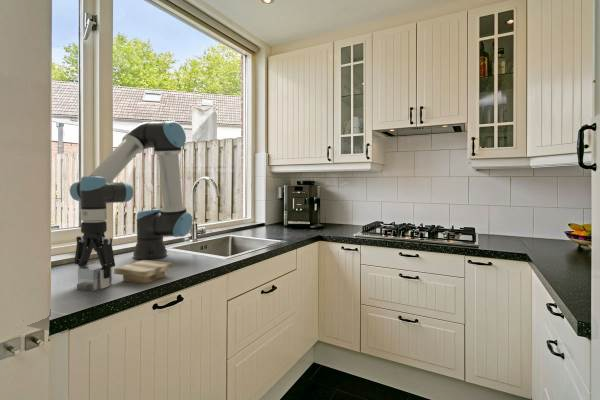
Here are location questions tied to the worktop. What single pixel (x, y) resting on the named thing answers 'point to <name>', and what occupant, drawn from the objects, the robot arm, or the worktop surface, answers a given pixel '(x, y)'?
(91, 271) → the housing
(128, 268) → the stand
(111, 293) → the worktop surface
